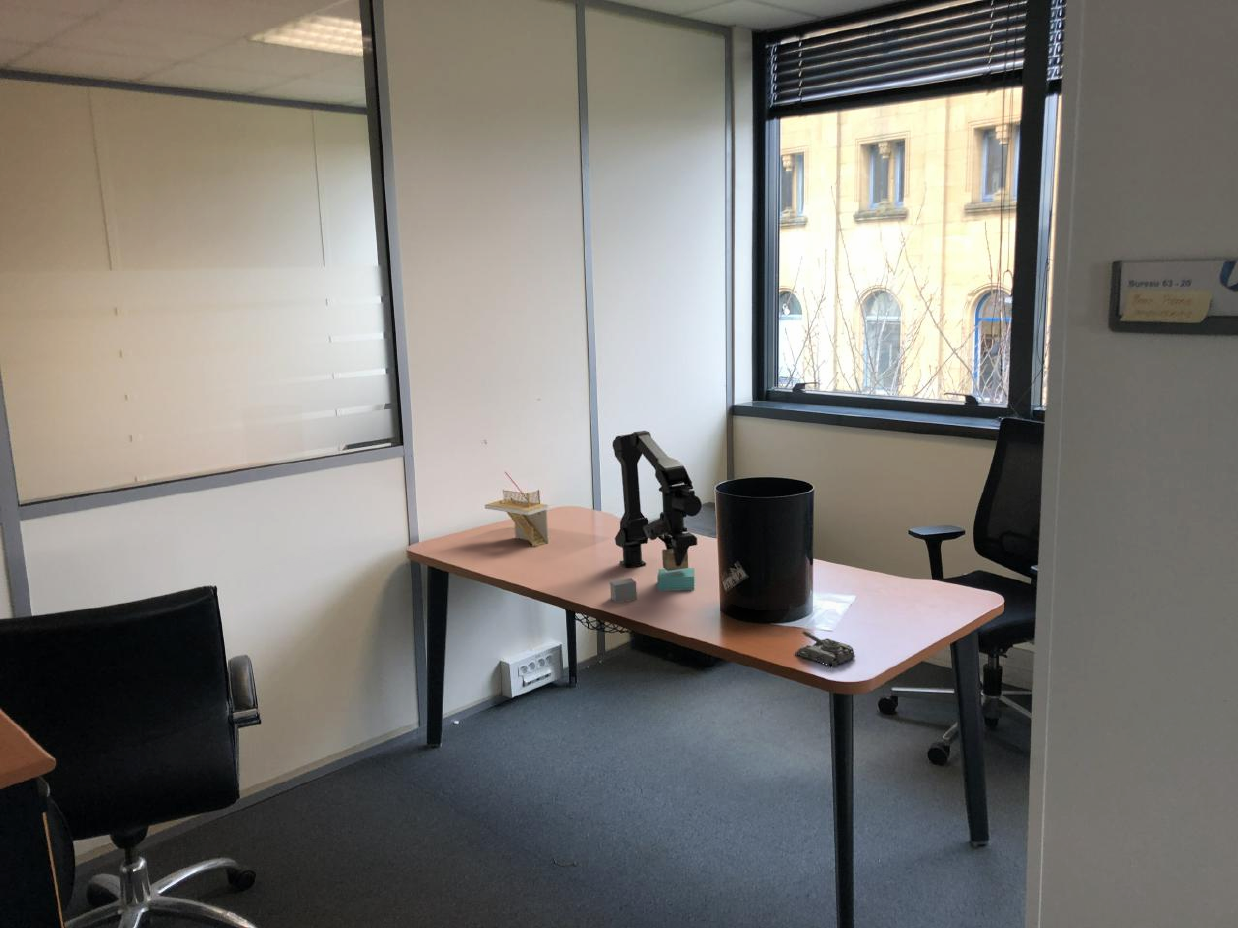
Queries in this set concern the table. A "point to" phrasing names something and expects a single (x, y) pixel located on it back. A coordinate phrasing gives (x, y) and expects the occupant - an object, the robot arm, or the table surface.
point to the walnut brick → (673, 560)
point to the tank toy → (826, 651)
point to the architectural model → (525, 516)
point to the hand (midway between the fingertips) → (675, 563)
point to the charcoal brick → (623, 590)
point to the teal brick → (676, 579)
